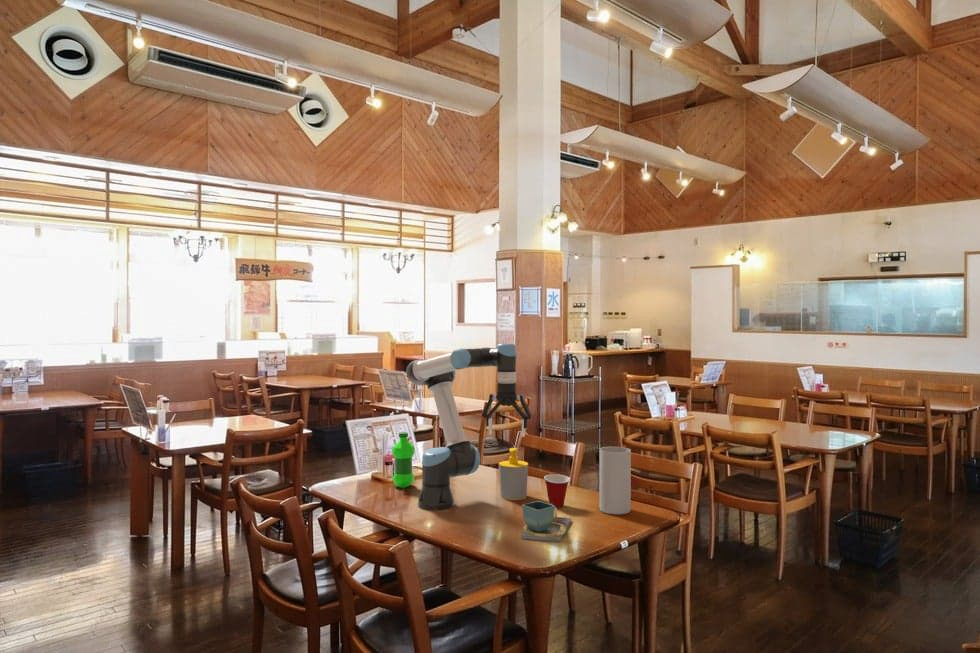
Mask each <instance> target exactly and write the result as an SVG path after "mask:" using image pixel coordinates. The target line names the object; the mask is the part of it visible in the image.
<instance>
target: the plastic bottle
mask: <svg viewBox="0 0 980 653" xmlns="http://www.w3.org/2000/svg"><path fill="white" fill-rule="evenodd" d="M408 437H409V432H406V431H405V432H404V431H401V432H398V438H399V440H398V441H397V443H395V444H394V445H393V446H392V449H391V453H392V456H393V457H394V474H393V476H392V482H393V483H394V485H396V486H397V487H398V488H401V489H404V488H409V486H411V484H413V482H414V480H415V476H414V473H413V456H414V455H415V452H416V451H415V446H414V445H413V444H412V443H411V442H410V441H409V440H408Z"/></svg>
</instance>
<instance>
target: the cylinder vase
mask: <svg viewBox="0 0 980 653" xmlns="http://www.w3.org/2000/svg"><path fill="white" fill-rule="evenodd" d="M631 450H632V449H630V448H629V447H628V448H627V447H622V446H603V447H599V487H598V488H599V490H598V492H599V494H598V495H599V500H598V501H599V508H598V509H599V511H600V512H602V513H605V514H609V515H613V516H614V515H618V516H619V515H626V514H629V513H630V512H631V507H632V506H631V504H632V503H631V498H632V497H631V496H632V494H631V490H632V489H631V488H632V487H631V486H632V485H631V483H632V478H631V477H632V474H631V473H632V472H631V468H632V467H631V464H632V462H631V461H632V460H631V457H632V454H631V452H632V451H631Z"/></svg>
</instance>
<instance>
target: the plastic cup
mask: <svg viewBox="0 0 980 653" xmlns="http://www.w3.org/2000/svg"><path fill="white" fill-rule="evenodd" d="M543 479H544V482H545V487H546V494H547V498H548V503H552V504H553V505H554V506H555V507H556V508H557V509H558V508H559V509H560V508H563V507H564V505H565V500H566V495H567V494H566V493H567V489H568V484H569V482H570V481H571V479H570V478H569V477H568V476H565V475H562V474H547V475H544V476H543Z"/></svg>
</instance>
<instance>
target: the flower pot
mask: <svg viewBox="0 0 980 653" xmlns="http://www.w3.org/2000/svg"><path fill="white" fill-rule="evenodd" d="M554 508H555V506H554V505H551V504H548V503H546V502H543V501H540V500H536V501H532V502H528V503H524V504H522V505H521V511H522V516H523V521H524V523H525V524H526V525H527V527H528V528H529V529H531V530H533V531H536V532H541V531H544V530H547V529H548V528H549V526H550V525H551V523H552V520H553V515H554Z"/></svg>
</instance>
